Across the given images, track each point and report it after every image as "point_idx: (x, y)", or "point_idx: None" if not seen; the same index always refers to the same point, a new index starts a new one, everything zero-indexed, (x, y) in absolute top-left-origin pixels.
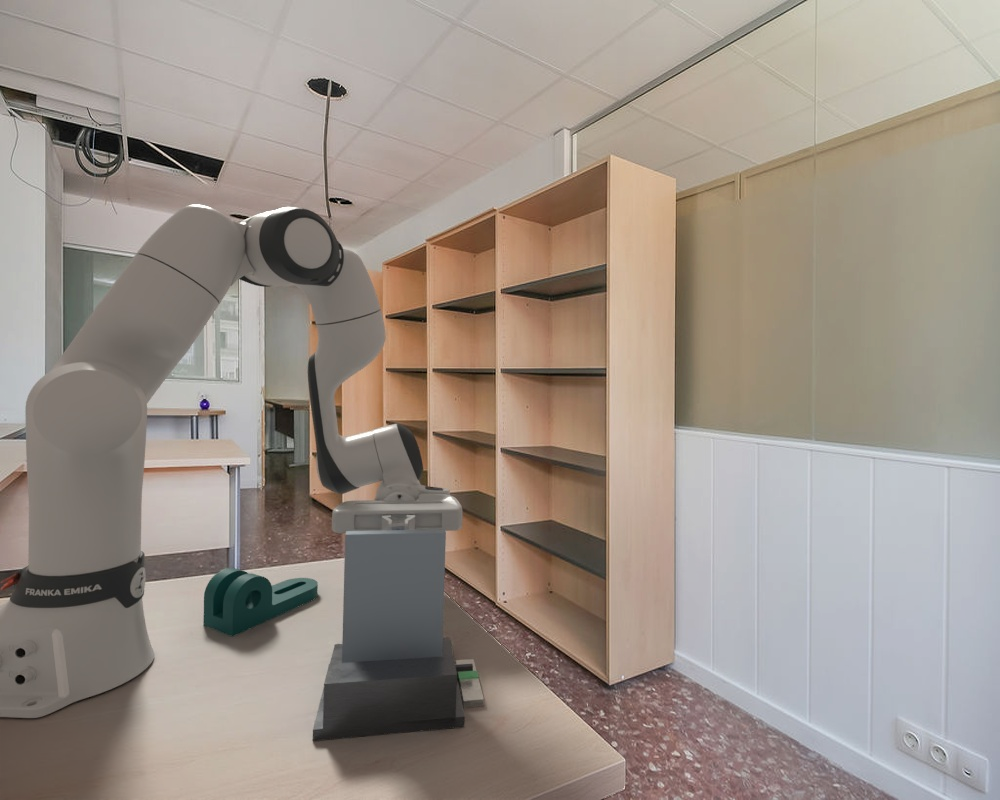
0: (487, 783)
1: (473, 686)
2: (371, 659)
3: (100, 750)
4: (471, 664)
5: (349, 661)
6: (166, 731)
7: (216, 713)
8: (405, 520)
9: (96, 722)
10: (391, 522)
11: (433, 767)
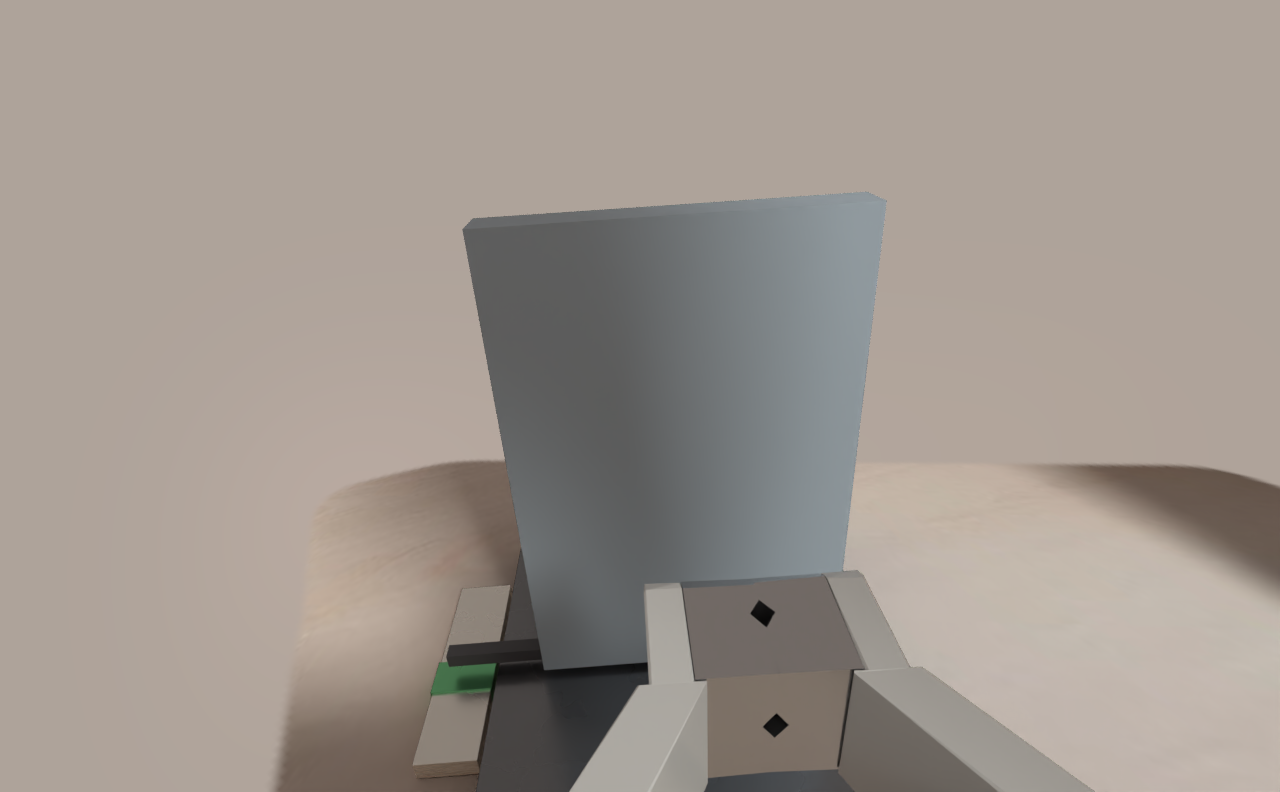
0: None
1: (468, 630)
2: None
3: (1198, 518)
4: (450, 653)
5: None
6: (1134, 553)
7: (1088, 595)
8: (685, 676)
9: None
10: (840, 599)
11: None
